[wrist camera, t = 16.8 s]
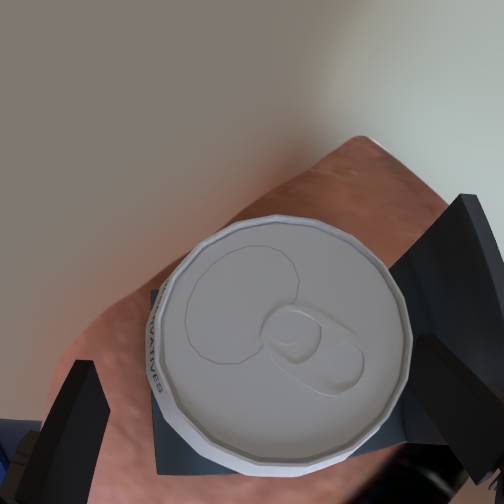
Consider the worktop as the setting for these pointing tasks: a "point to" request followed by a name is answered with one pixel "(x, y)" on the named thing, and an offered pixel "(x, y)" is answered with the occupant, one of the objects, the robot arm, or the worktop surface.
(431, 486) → the worktop surface
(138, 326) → the worktop surface
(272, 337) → the supplement can
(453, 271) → the chair
